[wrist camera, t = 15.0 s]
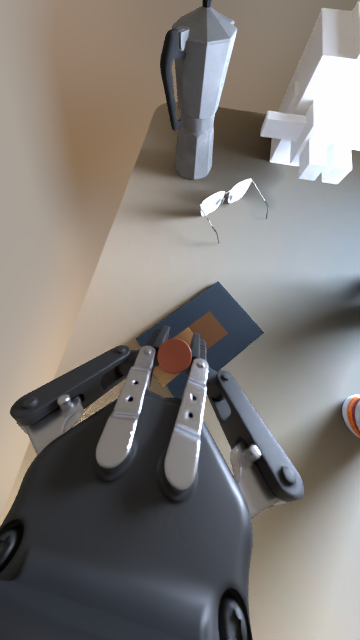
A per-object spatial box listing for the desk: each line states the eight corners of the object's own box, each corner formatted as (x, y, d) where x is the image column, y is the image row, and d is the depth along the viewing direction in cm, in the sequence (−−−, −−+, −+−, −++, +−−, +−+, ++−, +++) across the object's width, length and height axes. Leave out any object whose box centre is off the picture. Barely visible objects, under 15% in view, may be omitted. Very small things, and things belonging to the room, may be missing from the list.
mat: (178, 402, 21) (178, 404, 20) (136, 338, 23) (135, 338, 22) (262, 332, 24) (264, 332, 23) (217, 282, 26) (218, 281, 25)
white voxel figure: (242, 203, 34) (252, 123, 39) (343, 219, 33) (340, 136, 38) (290, 96, 19) (296, -9, 24) (472, 121, 19) (439, 7, 24)
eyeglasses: (245, 195, 32) (255, 174, 28) (265, 221, 31) (279, 203, 27) (195, 218, 30) (199, 199, 26) (216, 247, 29) (223, 231, 25)
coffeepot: (196, 147, 36) (214, -49, 19) (223, 164, 34) (271, -31, 17) (154, 175, 33) (129, -27, 16) (182, 195, 31) (189, -3, 14)
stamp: (164, 382, 19) (149, 412, 9) (149, 359, 20) (120, 362, 10) (202, 352, 20) (227, 348, 10) (186, 331, 21) (194, 309, 11)
